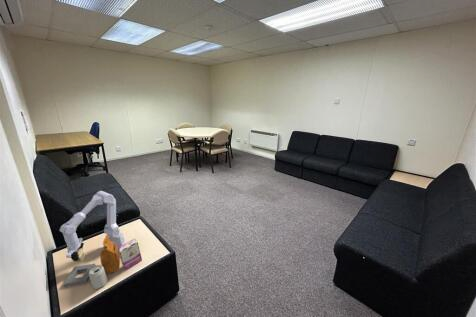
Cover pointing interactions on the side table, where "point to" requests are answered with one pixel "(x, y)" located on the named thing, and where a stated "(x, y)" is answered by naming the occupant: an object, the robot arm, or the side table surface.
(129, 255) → the candy bar box
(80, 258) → the jaw block
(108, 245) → the coffee package
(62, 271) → the side table surface
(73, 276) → the housing
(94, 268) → the can
